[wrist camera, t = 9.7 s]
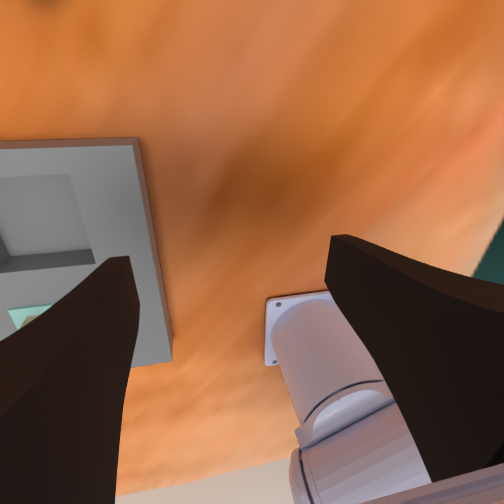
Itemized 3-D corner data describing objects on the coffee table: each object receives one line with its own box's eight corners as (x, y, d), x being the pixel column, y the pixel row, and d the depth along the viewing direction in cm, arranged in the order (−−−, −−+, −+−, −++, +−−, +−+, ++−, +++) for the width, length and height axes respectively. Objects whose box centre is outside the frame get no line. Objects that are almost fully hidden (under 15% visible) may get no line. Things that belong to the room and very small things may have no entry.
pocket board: (137, 137, 17) (131, 145, 15) (172, 337, 25) (172, 363, 23) (-111, 144, 15) (-163, 155, 13) (12, 361, 23) (-6, 392, 21)
